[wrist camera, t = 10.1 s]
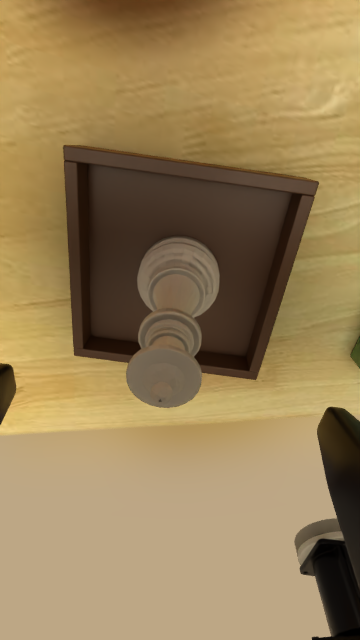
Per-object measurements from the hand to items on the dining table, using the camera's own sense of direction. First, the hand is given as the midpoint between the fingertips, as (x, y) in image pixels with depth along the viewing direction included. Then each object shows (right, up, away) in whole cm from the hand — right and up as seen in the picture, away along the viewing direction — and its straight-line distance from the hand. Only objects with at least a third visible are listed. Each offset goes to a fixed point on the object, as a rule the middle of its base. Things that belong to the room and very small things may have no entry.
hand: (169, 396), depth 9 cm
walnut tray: (0, +5, +9) cm, 10 cm away
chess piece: (0, +5, +9) cm, 10 cm away
